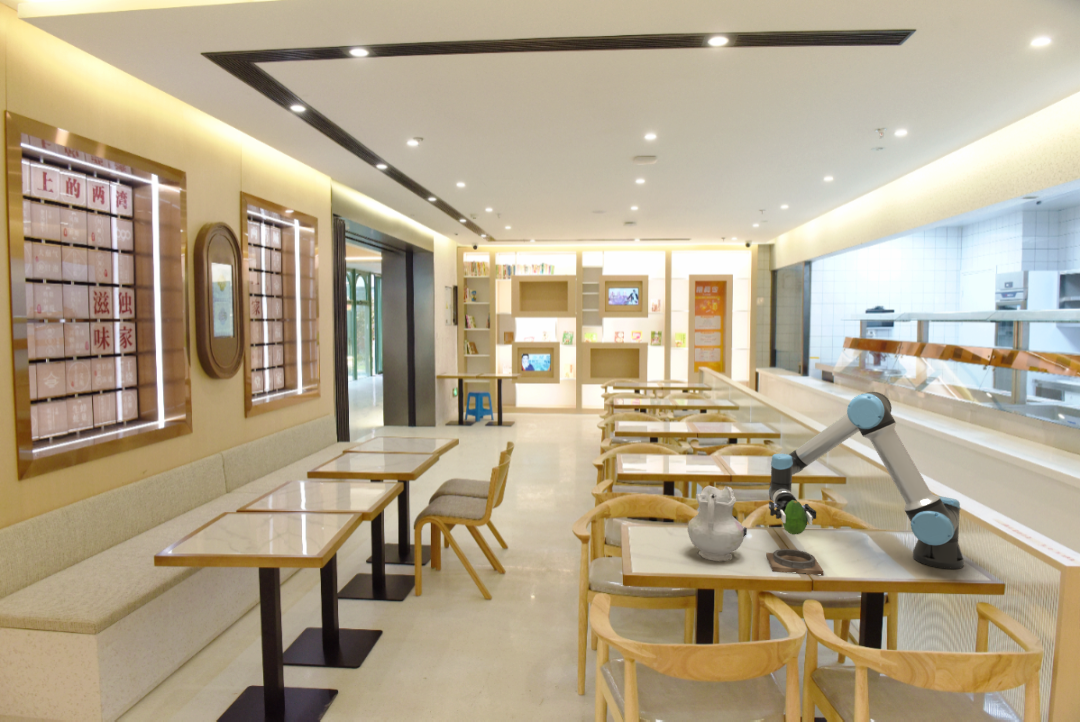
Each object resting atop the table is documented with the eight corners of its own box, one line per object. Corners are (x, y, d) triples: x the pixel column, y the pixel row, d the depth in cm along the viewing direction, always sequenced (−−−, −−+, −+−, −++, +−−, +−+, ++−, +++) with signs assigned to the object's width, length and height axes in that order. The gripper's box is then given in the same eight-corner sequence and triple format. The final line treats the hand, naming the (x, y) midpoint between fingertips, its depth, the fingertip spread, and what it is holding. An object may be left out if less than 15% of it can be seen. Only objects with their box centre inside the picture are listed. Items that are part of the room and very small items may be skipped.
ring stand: (813, 560, 219) (814, 550, 219) (823, 575, 205) (823, 565, 205) (766, 556, 222) (766, 546, 222) (772, 571, 209) (772, 561, 208)
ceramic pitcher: (744, 573, 210) (752, 501, 208) (686, 564, 213) (693, 493, 212) (737, 551, 231) (744, 485, 229) (684, 543, 235) (691, 478, 233)
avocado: (778, 534, 213) (779, 500, 213) (786, 529, 219) (788, 495, 218) (802, 540, 208) (803, 504, 207) (810, 534, 214) (811, 500, 213)
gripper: (814, 513, 229) (830, 533, 206) (756, 509, 233) (765, 528, 211) (815, 493, 228) (830, 511, 206) (756, 489, 233) (765, 506, 210)
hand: (797, 520), depth 208 cm, fingers closed on avocado, 8 cm apart
